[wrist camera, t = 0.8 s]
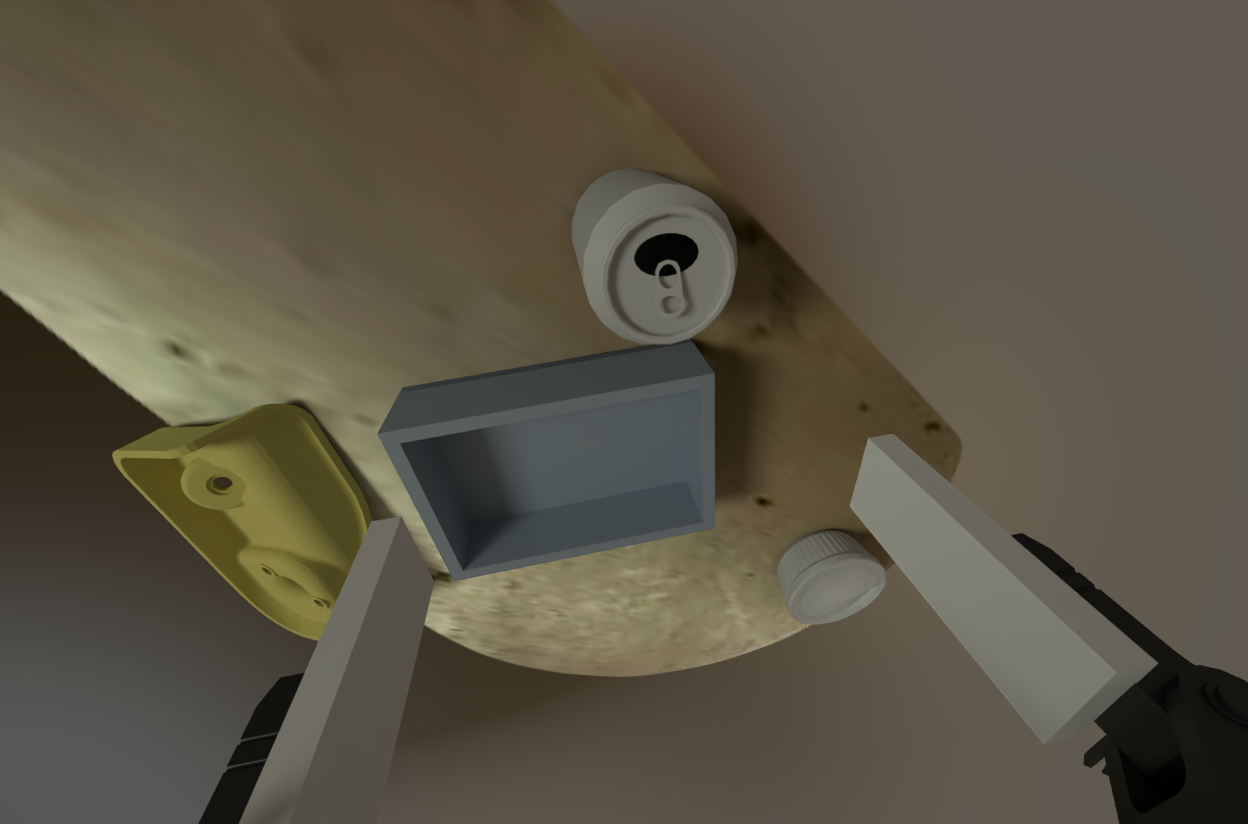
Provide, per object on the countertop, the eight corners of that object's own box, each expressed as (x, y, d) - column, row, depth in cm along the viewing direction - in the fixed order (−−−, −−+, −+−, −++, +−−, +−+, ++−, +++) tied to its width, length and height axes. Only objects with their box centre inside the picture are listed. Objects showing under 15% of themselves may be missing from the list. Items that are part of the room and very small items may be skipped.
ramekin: (820, 591, 57) (843, 630, 52) (750, 579, 53) (768, 620, 48) (877, 531, 52) (909, 569, 47) (804, 513, 48) (831, 551, 43)
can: (681, 161, 28) (760, 178, 18) (681, 280, 32) (745, 348, 22) (563, 172, 27) (574, 196, 17) (578, 292, 31) (595, 368, 21)
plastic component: (99, 449, 30) (184, 451, 26) (213, 395, 36) (295, 389, 32) (274, 630, 39) (354, 649, 36) (341, 563, 45) (416, 574, 42)
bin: (402, 387, 33) (377, 433, 28) (689, 338, 34) (714, 373, 29) (465, 526, 41) (454, 581, 36) (694, 481, 43) (715, 528, 38)
